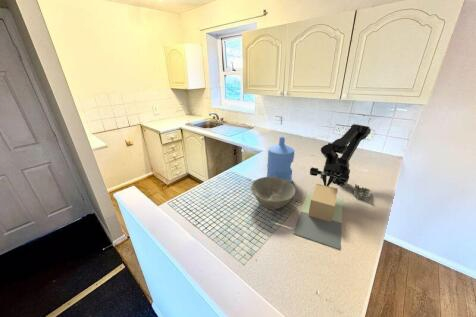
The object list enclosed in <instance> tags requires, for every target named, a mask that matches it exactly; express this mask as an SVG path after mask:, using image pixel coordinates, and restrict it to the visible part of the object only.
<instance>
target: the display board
mask: <svg viewBox="0 0 476 317" xmlns="http://www.w3.org/2000/svg"><path fill="white" fill-rule="evenodd" d="M313 192H314V191H309V190H307V193H306V196H305V199H304V202H303V205H302V207H301V210H300V212H299V216H298V219H297V222H296V225H295V228H294V230H293V233H292V234H293V235H296V236H298V237H302V238H305V239H307V240H309V241H313V242H316V243H319V244H322V245H325V246H328V247H331V248H334V249H337V250H338V251H339V250H341V248H342V247H341V246H342V245H341V243H342V227H343V226H342V225H343V206H344V199H343V198H339V197H336V202H335V208H334V212H333V216H332V221H331V222H328V221H325V220H322V219H318V218H315V217H312V216H308V214H309V208H310V202H311V198H312V195H313Z"/></svg>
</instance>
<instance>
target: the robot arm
mask: <svg viewBox="0 0 476 317" xmlns="http://www.w3.org/2000/svg"><path fill="white" fill-rule="evenodd" d="M371 130H372V129H371V128H370V126H367V125H362V124H356V123H353V124H351V126H350V127H349V129H348V130H347V131H346V132H345V133H344V134H343V135H342V136H341V137H340V138H337V139H335V140H334V141H332V142H328V144H325V145H322V146H321V147H320V152H321V155H323V157H324V158H325V162H324V166H323V170H322V171H321V170H319V168H317V167H311V168H310V169H309V175H310V176H314V177H317V176H318V175H320V180H322V183H323V185H324V186H329V187H330V185H331V184H332V183H333V184H338V185H345V183H348V182H349V180H350V173H351V170H350V160H351V158H352V157H353V155H354V153H355V151H356V150H357V148H358V146H359V144H361V141H363V140H365V139H366V138H367V137H368V136H369V135H370V134H371ZM339 154H340V155H341V156H339ZM328 177H329V178H328ZM327 178H328V181H327Z"/></svg>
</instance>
